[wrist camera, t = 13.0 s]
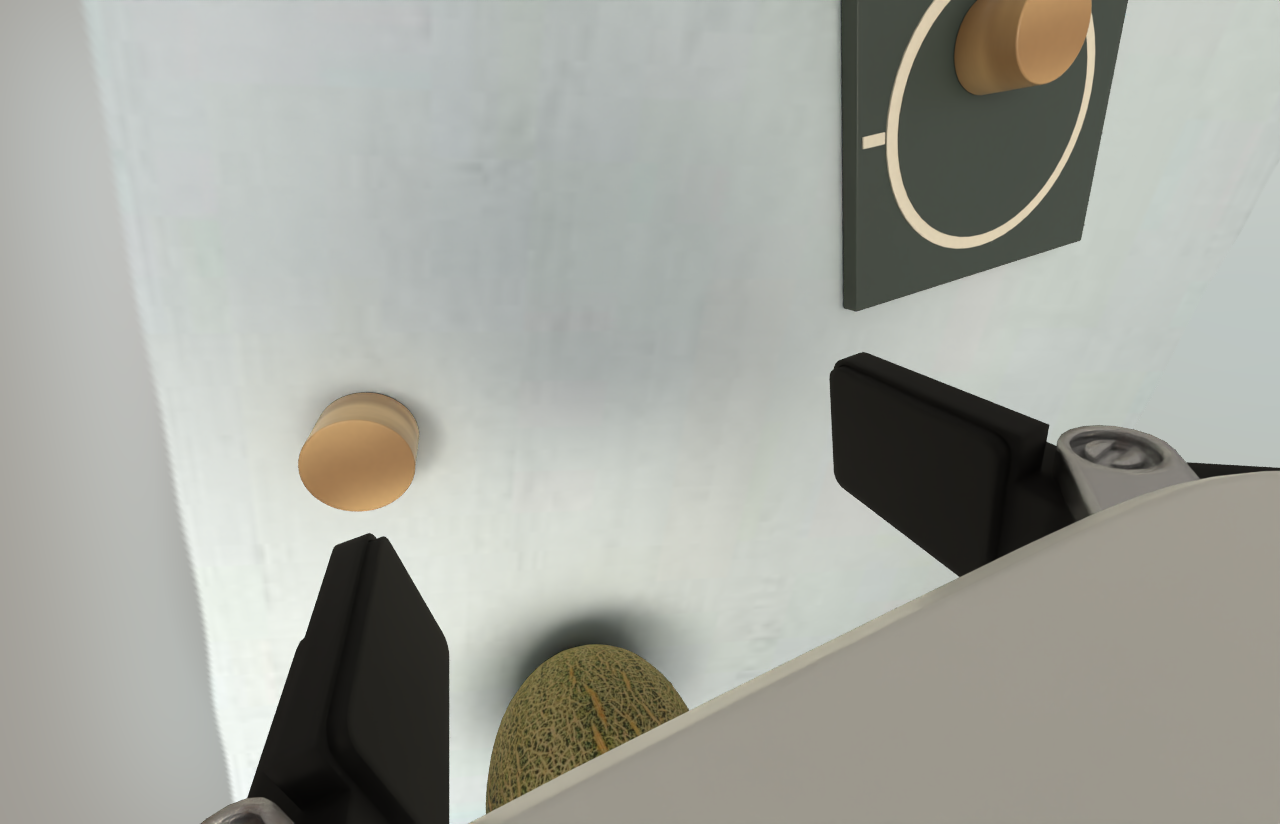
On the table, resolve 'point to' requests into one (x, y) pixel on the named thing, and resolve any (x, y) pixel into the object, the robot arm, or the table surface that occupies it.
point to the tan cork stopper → (360, 452)
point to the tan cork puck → (1018, 43)
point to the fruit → (575, 716)
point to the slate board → (958, 150)
